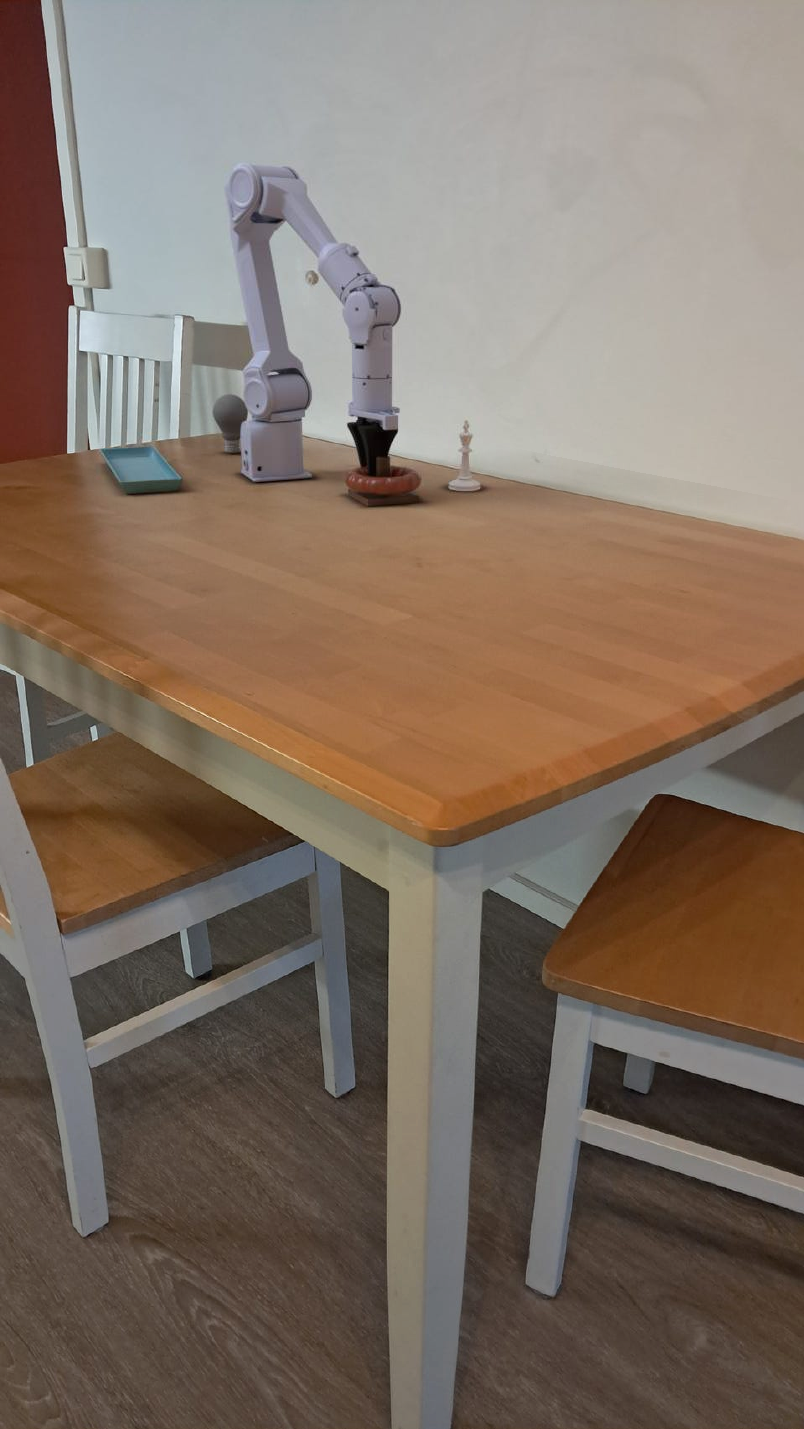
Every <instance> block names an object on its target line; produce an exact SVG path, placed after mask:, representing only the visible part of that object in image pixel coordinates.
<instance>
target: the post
mask: <svg viewBox="0 0 804 1429" xmlns="http://www.w3.org/2000/svg"><path fill="white" fill-rule="evenodd" d="M390 466H391V456H390V455H388V456H377V457H376V477H386V478H387V477H390ZM347 495H348V496H349V497H351V498H352V499H354V500H356V501H357V502H359V503H360V504H363V505H364V506H366V507H377V506H389V505H390V506H391V505H401V504H410V503H411V504H413V503H420V494H418V493H416V492H414V491H411V492H407V493H403V494H392V495H378V494H366V493H361V492H356V491H354V490H353V489H351V488H349V487H348V488H347Z"/></svg>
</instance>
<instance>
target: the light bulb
mask: <svg viewBox="0 0 804 1429" xmlns="http://www.w3.org/2000/svg"><path fill="white" fill-rule="evenodd" d="M212 415H213V419H214V421H215V423H216V424H217V426H218V427H219V430H220V432H221V436H222V438H223V440H224V446H225V447H224V451H225V452H226V453H228V454H230V455H235V454H237V453H238V452H241V447H240V445H241V442H240V440H241V425H242V423H243V422H244V421H248V415H249V411H248V410H247V408H246V406H245V403H244V399H242V398H241V397H240V396H238V395H235V394H231V393H227V394H223V395H221V396H220V397H219V398H218V399H217V400H216V401H215V402H214V405H213V407H212Z"/></svg>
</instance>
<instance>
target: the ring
mask: <svg viewBox="0 0 804 1429" xmlns="http://www.w3.org/2000/svg"><path fill="white" fill-rule="evenodd" d="M344 483H345V485H346V486H347V487H348V489H349V488H351V489H353V490H354V491H356V492H361V493H366V494H378V495H392V494H403V493H407V492H411V491H412V492H414V491H416V490H418V488H419V487H420V485H421V483H422V476H421V474H420V473H419V472H418V471H416V470H414V469H412V468H409V467H405V466H399V465H390V477H387V478H386V477H376V475H369V472H368V468H367V466H364V467H361V466H360V467H355V468H352V469H351V470H350V471H348V473H347V474H346V475H345V478H344Z"/></svg>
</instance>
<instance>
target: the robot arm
mask: <svg viewBox="0 0 804 1429" xmlns="http://www.w3.org/2000/svg"><path fill="white" fill-rule="evenodd" d="M223 189H224V194H225V200H226V205H227V210H228V216H229V234H230V240H231V245H232V251H233V256H234V261H235V266H236V271H237V272H236V273H237V277H238V281H239V282H238V283H239V285H240V286H239V287H240V292H241V297H242V302H243V308H244V314H245V318H246V323H247V328H248V333H249V340H250V344H251V349H252V353H253V356H252V358H251V359H250V361H249V362H248V363H247V364H246V365H245V367H244V368H243V370H242V375H243V391H242V392H243V393H242V396H243V401H244V403H245V406H246V408H247V410H248V414H250V415H251V420H246V421H244V422H243V423H242V425H241V437H240V452H241V471H240V473H241V474H242V475H244V476H245V477H246V478H248V479H250V480H251V481H252V482H254V483H259V482H273V481H286V480H298V479H299V480H300V479H312V478H313V474H311V473H310V472H308V471H306V470H305V469H304V444H303V443H304V442H303V440H304V439H303V438H304V437H303V418H305V417H306V411H307V410H308V409H309V407H310V406H311V403H312V400H313V389H312V386H311V382H310V380H309V379H308V377H307V375H306V373H305V370H304V365H303V362H302V361H301V359H299V357H297V356H296V355H295V354H294V353H293V352H292V351H290V349H289V348H290V347H289V344H288V336H287V332H286V331H287V330H286V327H285V322H284V315H283V310H282V305H281V299H280V293H279V289H278V283H277V277H276V272H275V268H274V267H275V266H274V261H273V256H272V249H271V245H270V240H271V239H272V237H273V235H274V233H275V232H276V231H278V229H280V228H281V226H283V224H284V223H288V225H289V226H290V227H291V228H292V230H294V232H295V233H296V234H297V235H298V236H299V238H300V239H301V240H302V241H303V242H304V243H305V245H306V246H307V247H308V248H309V249H310V251H312V253H313V254H314V255H315V257H317V258H318V262H317V271H318V274H319V275H320V276H321V277H322V279H323V281H324V282H325V283H326V284H327V285H328V287H329V288H330V289H331V290H332V292H333V294H334V295H335V296H336V298H337V299H338V301H339V302H340V303H341V304H342V305H343V307H342V308H341V313H342V314H341V315H342V318H343V320H344V323H345V324H346V327H347V329H348V339H349V340H350V343H351V375H352V376H351V381H352V382H351V383H352V384H351V386H352V387H351V388H352V402H348V405H347V406H348V416H349V417H352V418H353V417H355V418H356V420H355V421H349V422H347V423H346V426H347V429H348V431H349V432H350V435H351V437H352V438H353V442H354V445H355V448H356V453H357V456H358V457H357V458H358V461H359V466H360V467H364V466H367V468H368V472H369V475H376V457H377V456H389V453H390V450H391V446H392V444H393V442H394V440H395V438H396V436H397V434H398V433H399V415H398V414H400V409H401V408H400V407H398V406H393V327H395V326H396V325H397V323H399V320H400V318H401V315H402V314H401V313H402V303H401V298H400V297H399V295H398V293H397V292H396V289H395V288H394V287H393V286H391V285H389V284H383V283H381V282H380V280H378V277H377V276H376V275H375V273H372V272H371V271H370V269H369V268H368V267H367V265H366V264H365V263H364V261H363V260H362V259H361V257H360V256H359V254H360V251H359V250H358V248H357V247H356V245H350V244H349V243H347V242H338V241H337V239H336V238H335V235H333V233H332V231H331V230H330V228H329V226H327V224H326V221H325V220H324V219H323V217H322V216H321V214H320V213H319V211H318V209H317V208H316V207H315V205H314V204H313V202H312V200H311V199H310V198H309V196H308V186H307V184H306V182H304V180H303V179H302V178H301V177H300V175H299V173H298V172H297V171H296V170H295V169H294V168H292V167H290V166H287V165H286V166H285V165H284V166H271V165H258V164H251V163H247V162H241V163H238V164H236V165H235V166H234V167H233V169H232V170H231V172H230V174H229V176H228V178H227V181H226V183H225V185H224V186H223ZM269 373H274V374H269Z"/></svg>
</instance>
